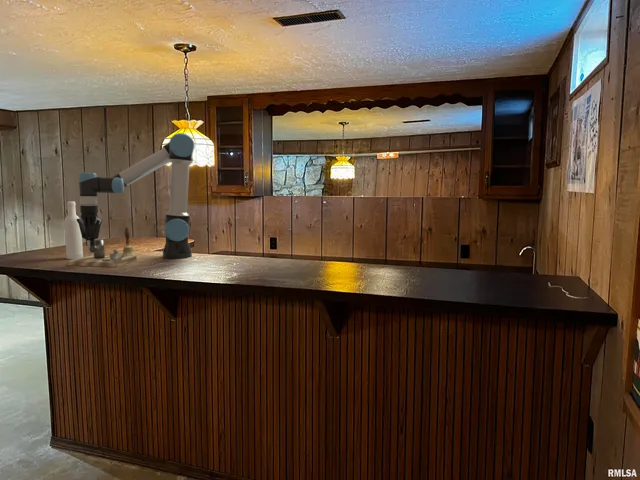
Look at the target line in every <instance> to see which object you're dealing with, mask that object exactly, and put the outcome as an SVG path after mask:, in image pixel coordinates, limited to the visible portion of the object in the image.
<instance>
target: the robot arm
mask: <svg viewBox="0 0 640 480" xmlns="http://www.w3.org/2000/svg"><path fill="white" fill-rule="evenodd" d="M195 144H196V143H195V140H194V139H193V138H192V137H191V135H190V134H187V133H183V132H179V133H175V134H173V135H172V137H171V138H170V140H169V141H168V143H166V144H164V145H163V146H162V147H161V149H159V150H157V151H156V152H154V153H153V154H150V155H149V156H146V158H143V159H142V160H140V161H138V162H137V163H135V164H133V165H131V166H129V167H127V168H125V169H124V170H123V171H122V170H121V172H119V173H117V174H115V175H113V176H111V177H108V176H107V177H102V176H101V177H100V176H98V175H97V173H96V172H80V173H79V179H78V184H79V204H80V207H79V209H80V213H81V215H80V217H79V219H77V222H78V223H79V227H80V231H81V235H82V239H84V240H85V242H86V243H85V244H86V245H85V246H86V247H87V255H88V254H89V255H91V254H93V253H92V252H90V250H89V248H90V246H92V245H95V243H94V240H97V239H99V235H100V230H101V226H102V223H103V220H102V219H100V218H99V216H98V212H99V205H98V193H100V194H104V193H105V194H123V193H124V191H125V188H126V187H128V186H130V185H132V184H134V183H135V182H137V181H139V180H140V179H142V178H144V177H146V176H148V175H149V174H151V173H154V172H155V171H157V170H159V169H160V168H162V167H163V166H166V165H167V164H169V163H171V174H170V192H169V208H168V210H167V212H166V213H165V215H164V220H163V221H164V234H165V235H164V237H165V243H164V244H165V245H164V247H163V251H162V257H163V258H164V259H185V258H190V257H191V256H193V252H192V249H191V246H190V243H189V234H190V214H189V213H188V197H189V180H190V179H189V178H190V167H191V164H192V163H193V162H194V154H195V153H194V151H195V148H196V147H195V146H196V145H195Z"/></svg>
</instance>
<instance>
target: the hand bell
mask: <svg viewBox="0 0 640 480" xmlns="http://www.w3.org/2000/svg"><path fill="white" fill-rule="evenodd" d="M130 233H131V231H130V229H129V227H128V226H127V227H125V229H124V237H125V246H124V247H123V251H122V252H121V253H122V256H136V257H137V256H138V255H137V254H136V253H135V252H134V249H133V246H132V245H130V237H131V236H130V235H131V234H130Z"/></svg>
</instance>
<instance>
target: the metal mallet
mask: <svg viewBox="0 0 640 480" xmlns="http://www.w3.org/2000/svg"><path fill="white" fill-rule="evenodd" d="M94 243H95V245H92V246H90V248H89V250H90V252H92V253H91V254H93V255H94V258H105V256H106V255H105V239H102V238H101V239H99V238H98V239H95V240H94Z"/></svg>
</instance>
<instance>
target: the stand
mask: <svg viewBox="0 0 640 480" xmlns="http://www.w3.org/2000/svg"><path fill="white" fill-rule="evenodd" d="M118 251H119V250H118V249H114V250H113V251H112V253H110V254H109V255H105V258H94V254H89V255H88V254H87V255H85V256H83V257H81V258H77V259H69V260H67V261H66V265H67V266H76V267H77V266H78V267H81V266H82V267H111V268H118V267H121V266H124V265H126V264H129V263H132V262H135V261H137V256H122V253H123V252H118Z"/></svg>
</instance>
